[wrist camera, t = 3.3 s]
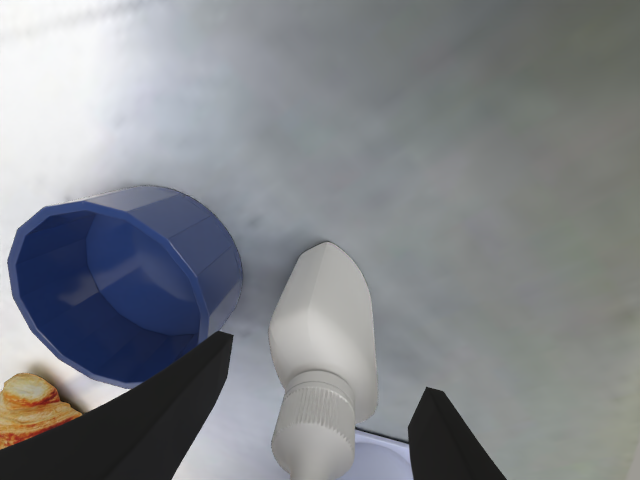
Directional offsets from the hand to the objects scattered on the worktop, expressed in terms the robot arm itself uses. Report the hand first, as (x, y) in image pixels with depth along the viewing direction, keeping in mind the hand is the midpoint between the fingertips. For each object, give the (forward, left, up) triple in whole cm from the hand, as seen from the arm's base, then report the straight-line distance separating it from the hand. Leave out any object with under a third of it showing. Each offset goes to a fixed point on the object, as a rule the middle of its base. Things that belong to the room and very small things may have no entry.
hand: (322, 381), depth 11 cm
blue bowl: (-2, +11, -8) cm, 14 cm away
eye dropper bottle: (0, 0, -8) cm, 8 cm away
